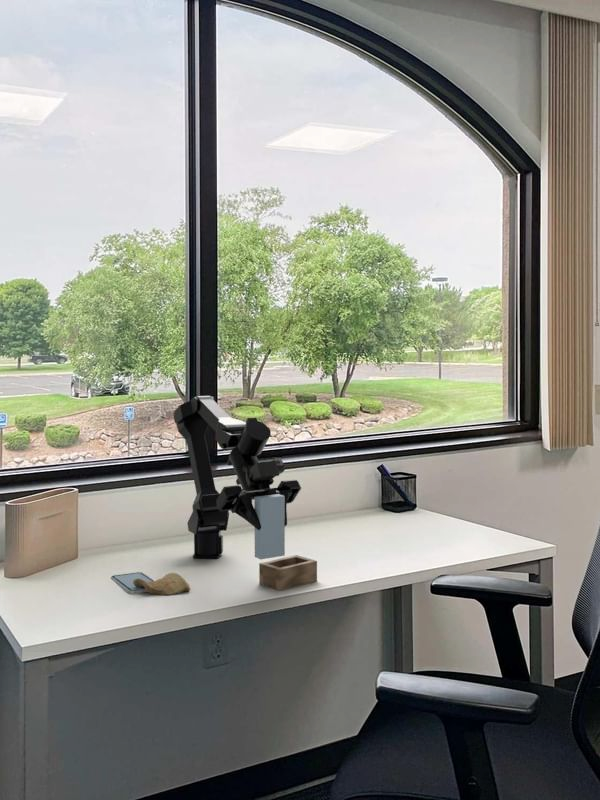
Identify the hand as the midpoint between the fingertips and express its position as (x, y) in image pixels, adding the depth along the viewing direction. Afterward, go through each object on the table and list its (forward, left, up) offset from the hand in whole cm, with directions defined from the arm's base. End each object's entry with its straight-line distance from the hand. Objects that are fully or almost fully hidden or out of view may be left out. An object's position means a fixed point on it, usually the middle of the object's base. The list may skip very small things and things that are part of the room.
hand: (272, 527), depth 168 cm
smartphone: (-31, +4, -14) cm, 34 cm away
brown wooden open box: (+3, +5, -13) cm, 15 cm away
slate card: (-1, +1, -7) cm, 7 cm away
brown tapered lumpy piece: (-24, -1, -14) cm, 28 cm away
